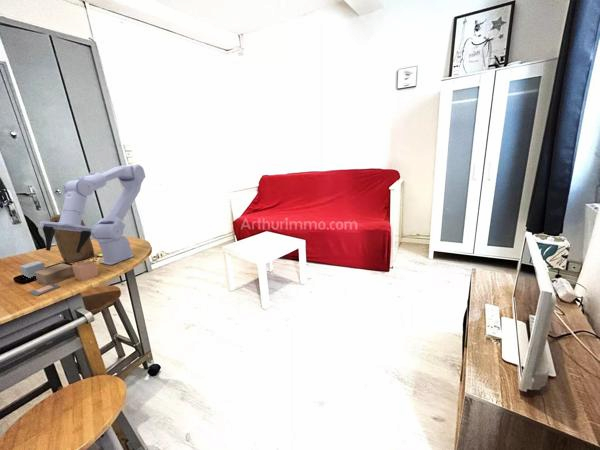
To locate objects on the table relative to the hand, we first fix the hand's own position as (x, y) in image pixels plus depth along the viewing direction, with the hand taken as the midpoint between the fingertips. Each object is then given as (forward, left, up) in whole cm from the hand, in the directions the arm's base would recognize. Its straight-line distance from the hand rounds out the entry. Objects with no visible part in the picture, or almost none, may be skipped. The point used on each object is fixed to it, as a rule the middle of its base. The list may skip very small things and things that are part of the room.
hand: (63, 251), depth 89 cm
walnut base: (+1, -9, -11) cm, 15 cm away
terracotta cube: (-4, +1, -11) cm, 12 cm away
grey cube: (+3, -20, -11) cm, 23 cm away
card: (+7, -2, -11) cm, 13 cm away
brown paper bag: (-13, -24, -11) cm, 30 cm away
